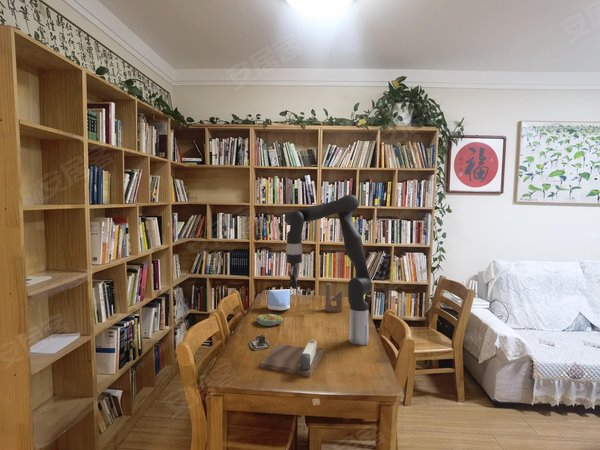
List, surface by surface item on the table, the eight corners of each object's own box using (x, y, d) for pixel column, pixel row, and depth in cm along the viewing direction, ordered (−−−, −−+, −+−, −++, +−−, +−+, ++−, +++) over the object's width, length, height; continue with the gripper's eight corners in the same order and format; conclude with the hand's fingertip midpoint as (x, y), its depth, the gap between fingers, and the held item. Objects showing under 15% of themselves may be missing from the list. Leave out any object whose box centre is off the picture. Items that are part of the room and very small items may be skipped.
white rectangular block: (308, 350, 143) (308, 337, 142) (317, 351, 142) (317, 338, 141) (299, 369, 125) (299, 354, 125) (309, 370, 124) (309, 356, 124)
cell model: (259, 315, 187) (282, 307, 184) (263, 328, 185) (286, 320, 182) (251, 318, 177) (275, 310, 173) (255, 331, 175) (279, 324, 172)
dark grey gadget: (258, 334, 162) (273, 331, 156) (260, 347, 160) (276, 344, 154) (241, 339, 152) (256, 335, 146) (243, 353, 150) (259, 350, 145)
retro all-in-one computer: (260, 307, 212) (260, 287, 211) (288, 305, 216) (288, 285, 215) (263, 317, 192) (263, 295, 191) (293, 315, 196) (294, 294, 195)
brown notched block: (341, 312, 201) (342, 285, 200) (325, 311, 202) (325, 284, 201) (341, 310, 204) (342, 283, 203) (325, 310, 206) (325, 283, 205)
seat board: (323, 354, 143) (323, 350, 143) (310, 377, 124) (310, 371, 124) (278, 347, 150) (278, 343, 150) (260, 367, 131) (260, 362, 131)
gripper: (289, 250, 157) (289, 284, 158) (283, 254, 144) (283, 291, 145) (304, 251, 155) (304, 285, 156) (299, 254, 142) (299, 292, 143)
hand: (294, 288), depth 150 cm, fingers closed
